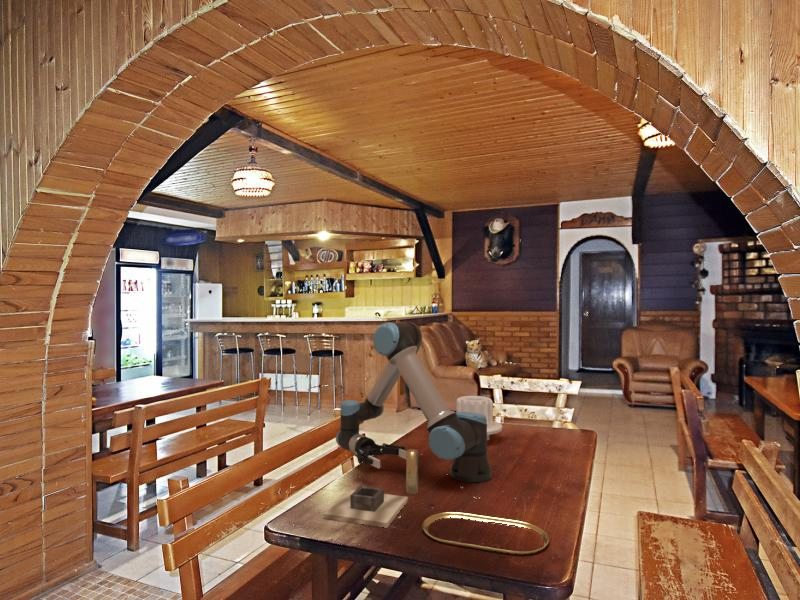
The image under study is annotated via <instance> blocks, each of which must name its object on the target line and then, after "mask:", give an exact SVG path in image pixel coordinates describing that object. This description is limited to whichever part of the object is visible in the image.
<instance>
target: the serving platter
mask: <svg viewBox="0 0 800 600" xmlns="http://www.w3.org/2000/svg"><path fill="white" fill-rule="evenodd" d="M450 517H451V518H450ZM442 518H444V519H461V518H463V519H462V520H468V519H470V520H469V521H475V520H476V521H477V522H482V521H483V522H482V523H488V522H495V523H502V524H507V525H506V526H509V525H515V526H518V527H517V528H521V527H524V528H523V529H525V528H528V529H533V530H534V531H536V532H538V533H539V534H540V535H542V537H543V538H544V541H545V542H544V546H543V547H542V548H541V547H539V548H540V549H539V548H537V549H534V550H528V551H527V550H525V551H515V550H509V549H508V550H507V549H501V548H495V547H489V546H482V545H477V544H471V543H465V542H458V541H452V540H447V539H443V538H442V539H441V538H439V537H435V536H434V535H431V534H430V533H429V526H430V525H431V524H432V523H434V522H436V521H439V520H438V519H440V520H443V519H442ZM435 520H436V521H435ZM495 523H494V524H495ZM502 524H501V525H502ZM421 525H422V530H423V531H424V533H425V534H426V535H427V536H428V537H429V538H431V539H433V540H435V541H437V542H439V543H442V544H447V545H448V544H449V545H454V546H459V547H466V548H472V549H477V550H478V549H479V550H484V551H488V552H489V551H490V552H495V551H496V553H501V552H502V554H507V553H509V554H508V555H515V554H517V555H518V556H519V555H521V556H522V555H523V556H524V554H526V555H531V553H532V554H536V553H538V551H539V552H541V551H542V550H544V549H545V548H546V547H547V545H548V544H549V542H550V539H549V535H548V533H547V532H546V531H545V530H543V529H542V528H540V527H539V526H537V525H534V524H532V523H528V522H525V521H520V520H516V519H515V520H514V519H510V518H509V519H507V518H502V517H501V518H500V517H493V516H487V515H480V514H473V513H466V512H458V511H456V512H455V511H450V512H449V511H447V512H440V513H436V514H432V515H430V516H428V517H427V518H425V519H424V521H423V522H422V524H421ZM515 526H514V527H515ZM528 529H527V530H528ZM517 555H516V556H517Z"/></svg>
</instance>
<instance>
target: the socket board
mask: <svg viewBox="0 0 800 600" xmlns="http://www.w3.org/2000/svg"><path fill="white" fill-rule="evenodd" d="M408 500H409V496H405V495H404V496H403V495H395V494H388V493H385V489H384V488H377V487H370V486H362V485H361V486H359V487H358V488H356V489H350V490H349V491H348V492H347V493H345V494H344V495H343V496H342V497H340V499H339V500H338V501H336V502H335V503H333V505H332V506H331V507H330V508H328V509H327V510H326V511H325V512H323V519H325V520H329V521H336V522H342V523H343V522H344V523H350V524H356V523H357V524H356V525H362V524H364V525H363V526H369V525H370V526H371V527H376V526H377V527H376V528H382V527H384V528H385V529H387V528H389V526H390V525H391V524H390V523H392V522H394V520H395V518H396V517H397V516H398V515H397V514H400V512H401V511H402V510H403V508H404V507H405V506H406V505H407V504H408V502H409V501H408ZM404 505H405V506H404ZM401 509H402V510H401ZM400 510H401V511H400ZM370 526H369V527H370ZM384 528H383V529H384Z"/></svg>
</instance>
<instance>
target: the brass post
mask: <svg viewBox="0 0 800 600" xmlns="http://www.w3.org/2000/svg"><path fill="white" fill-rule="evenodd" d="M405 451H406V459H405V487H406V488H405V493H406V492H407V493H409V494H408V495H417V494H418V493H419V450H417V449H414V448H413V449H412V448H410V449H405ZM407 493H406V494H407ZM416 493H417V494H416Z"/></svg>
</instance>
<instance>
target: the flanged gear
mask: <svg viewBox="0 0 800 600" xmlns="http://www.w3.org/2000/svg"><path fill="white" fill-rule="evenodd" d="M457 412H471V413H478V414H483V415H485V416H486V419H487V441H490V435H493V434H494V435H496V434H499V433H500V432H502V431H503V425H502V424H501V423H500V422H498V421H495V420H494V402H493V400H492V398H490V397H487V396H484V395H483V396H482V395H465V396H463V395H462V396H460V397H458V398H457V399H456V413H457Z"/></svg>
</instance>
